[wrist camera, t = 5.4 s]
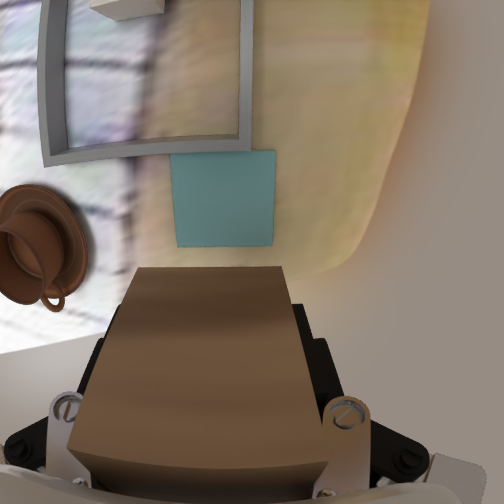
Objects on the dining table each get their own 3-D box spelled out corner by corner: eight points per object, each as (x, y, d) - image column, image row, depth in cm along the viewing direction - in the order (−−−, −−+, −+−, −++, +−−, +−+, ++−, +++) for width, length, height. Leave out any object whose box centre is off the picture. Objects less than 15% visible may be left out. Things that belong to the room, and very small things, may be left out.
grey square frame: (63, -21, 14) (47, -29, 11) (252, -51, 15) (254, -67, 12) (61, 159, 22) (44, 167, 19) (248, 144, 23) (251, 151, 20)
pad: (171, 152, 22) (169, 153, 22) (275, 149, 23) (276, 151, 22) (178, 244, 26) (177, 247, 26) (271, 242, 27) (272, 246, 26)
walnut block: (138, 267, 10) (65, 447, 4) (281, 266, 11) (329, 460, 4) (160, 364, 13) (135, 511, 6) (273, 364, 13) (294, 515, 7)
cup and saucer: (116, 235, 26) (91, 271, 20) (64, 306, 29) (42, 344, 24) (27, 153, 21) (-14, 171, 16) (-10, 239, 25) (-42, 267, 19)
